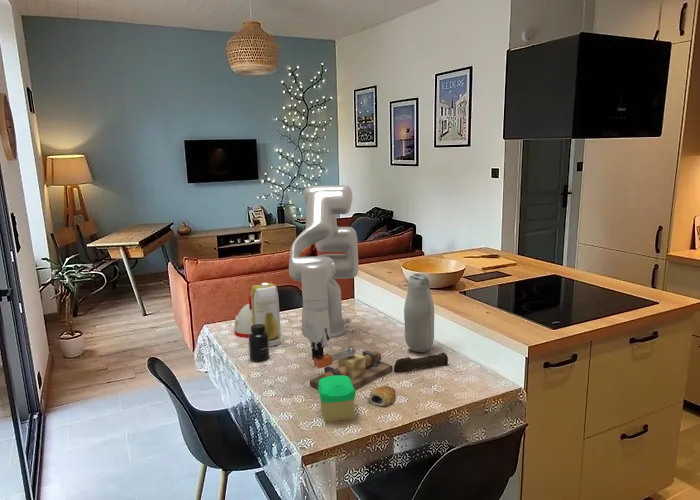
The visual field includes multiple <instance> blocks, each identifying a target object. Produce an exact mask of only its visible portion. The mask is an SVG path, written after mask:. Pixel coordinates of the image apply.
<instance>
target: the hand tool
mask: <svg viewBox="0 0 700 500" xmlns="http://www.w3.org/2000/svg"><path fill="white" fill-rule="evenodd" d="M448 364H449V357H448V355H447V353H445V352H440V353H438V354H430V355H427V356H421V357H416V358H411V357H410V356H409V357H407V356H406V357H402V358H398V359H397V360H396V361H395V364H394V366H393V373H396V374H402V373H403V374H404V373H412V371H414V370H417V369H424V368H429V367H434V366H441V365H445V366H448Z"/></svg>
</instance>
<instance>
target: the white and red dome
mask: <svg viewBox="0 0 700 500" xmlns="http://www.w3.org/2000/svg"><path fill="white" fill-rule="evenodd" d="M252 325H253V320H252V306H251V295H248V303H247V304H245V305H244V306H243V307H242V308H241V309H240V310H239V312H238V314H237V315H235V319H234V335H235V336H236V337H238V338H242V337H243V338H242V339H244V338H245V339H249V335H250V334H251V333H252V332H251V326H252Z"/></svg>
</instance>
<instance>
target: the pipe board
mask: <svg viewBox="0 0 700 500" xmlns="http://www.w3.org/2000/svg"><path fill="white" fill-rule="evenodd" d="M381 360H382V353H381V352H380V351H378V350H374V351H370V350H367V349H365V350H363V351H362V355H361V354H359V353H356V352H355V355H354V357H349V356H348V357H345V358H342V359H339V360H337V362H338V364H337V365H338V367H337V366H336V367H335V368H333V367H331V366H330V365H329V366H325V367H323V369H324V373H321V375H319V376H317V377H314V378H312V379H309V387H310V388H312V389H315V390H316V391H318V384H319V380H320V379H321V378H324V377H328V376H334V375H344V376H348V377H349V378H350V380H351V383H352V385H353V387H354V389H355V391H356V390H357V389H359V388H361V387H364V386H366V385H367V384H370V383H372V382H373V381H375V380H378V379H379V378H383V376H386V375H388V374H390V373H392V372H393V365H392V364H389V363H387V362H383V361H381Z"/></svg>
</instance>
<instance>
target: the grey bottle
mask: <svg viewBox="0 0 700 500" xmlns="http://www.w3.org/2000/svg"><path fill="white" fill-rule="evenodd" d="M432 297H433V296H432V294H431V289H430V280H429V278H428V276H426V275H425V274H422V273H413V274H411V275H410V276H409V278H408V281H407V292H406V297H405V301H404V307H403V308H404V309H403V315H404V316H403V318H404V340H405V343H406V345H407V346H408V348H409V349H410V350H412V351H413V352H416V353H425V352H427V351H429V350H430V349H431V348H432V347H433V344H434V340H435V304H434V302H433V301H434V300H433V298H432Z"/></svg>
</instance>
